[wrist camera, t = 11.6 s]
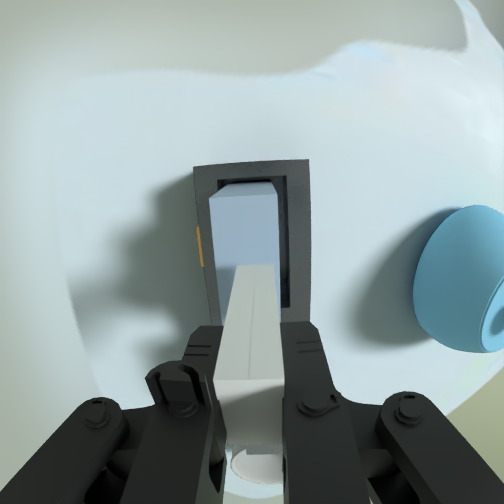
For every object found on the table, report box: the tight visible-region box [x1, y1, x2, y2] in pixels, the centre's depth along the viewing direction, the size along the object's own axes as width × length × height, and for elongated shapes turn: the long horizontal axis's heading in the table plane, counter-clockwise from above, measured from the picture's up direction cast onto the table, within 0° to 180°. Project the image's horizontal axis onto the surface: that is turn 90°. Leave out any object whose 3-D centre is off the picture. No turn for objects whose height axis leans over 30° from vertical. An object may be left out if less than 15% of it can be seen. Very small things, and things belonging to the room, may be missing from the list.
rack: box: [193, 159, 311, 455], centre depth 21 cm, size 23×8×11 cm, turn 4°
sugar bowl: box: [413, 205, 504, 353], centre depth 19 cm, size 15×15×12 cm
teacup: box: [231, 445, 283, 485], centre depth 28 cm, size 14×11×8 cm
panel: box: [209, 180, 281, 326], centre depth 18 cm, size 8×3×10 cm, turn 3°
